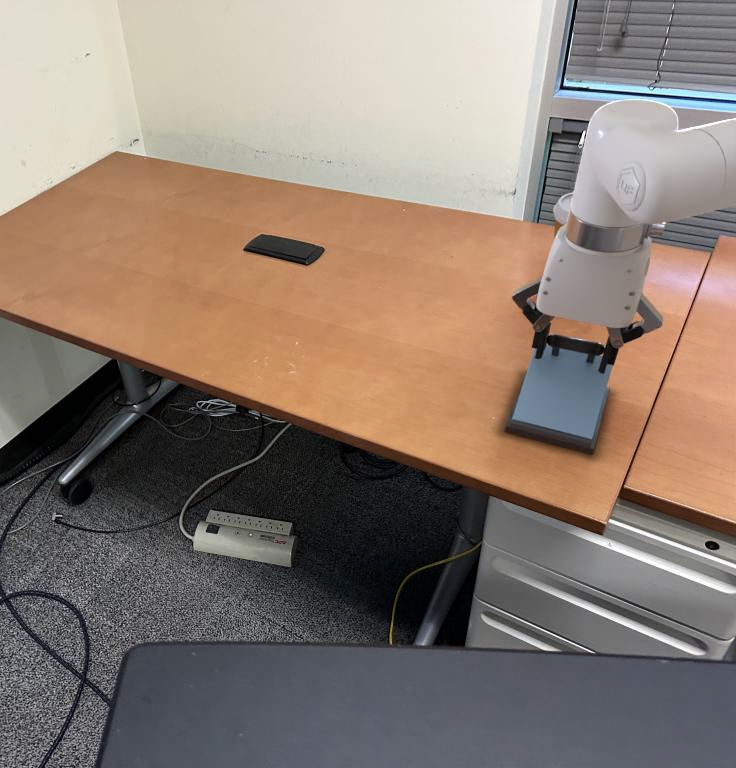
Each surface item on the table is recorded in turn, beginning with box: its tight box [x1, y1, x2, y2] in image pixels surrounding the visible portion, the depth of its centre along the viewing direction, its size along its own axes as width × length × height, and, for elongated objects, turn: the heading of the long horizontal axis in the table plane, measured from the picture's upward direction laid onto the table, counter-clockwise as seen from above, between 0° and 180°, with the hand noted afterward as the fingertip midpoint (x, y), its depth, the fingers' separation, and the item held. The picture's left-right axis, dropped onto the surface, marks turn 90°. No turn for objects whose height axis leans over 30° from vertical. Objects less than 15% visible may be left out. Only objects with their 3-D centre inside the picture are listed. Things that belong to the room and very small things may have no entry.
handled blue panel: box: [512, 333, 613, 440], centre depth 82 cm, size 11×9×5 cm
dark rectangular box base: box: [504, 371, 611, 456], centre depth 86 cm, size 12×10×2 cm
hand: (571, 358), depth 83 cm, fingers closed on handled blue panel, 6 cm apart
